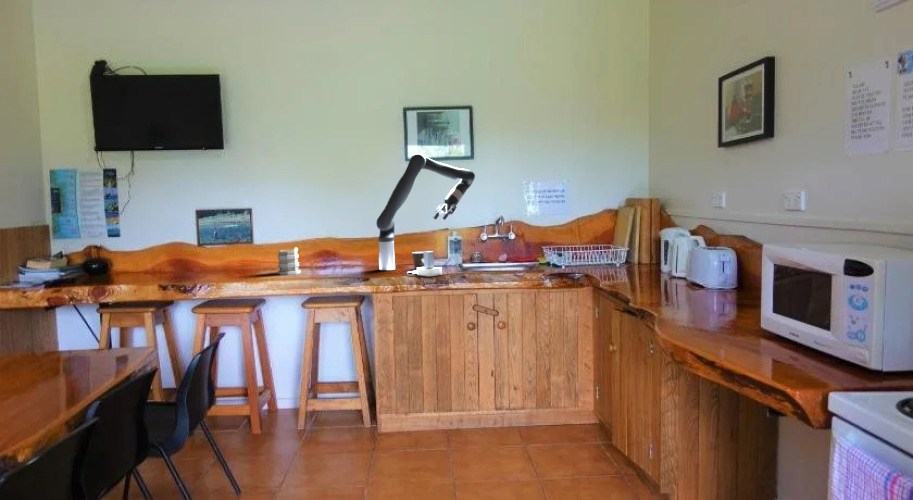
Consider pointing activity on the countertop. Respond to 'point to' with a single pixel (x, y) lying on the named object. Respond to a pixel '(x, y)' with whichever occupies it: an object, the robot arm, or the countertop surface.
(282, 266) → the tankard
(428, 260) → the grey rectangular block
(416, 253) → the coffee mug
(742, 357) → the countertop surface
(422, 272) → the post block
